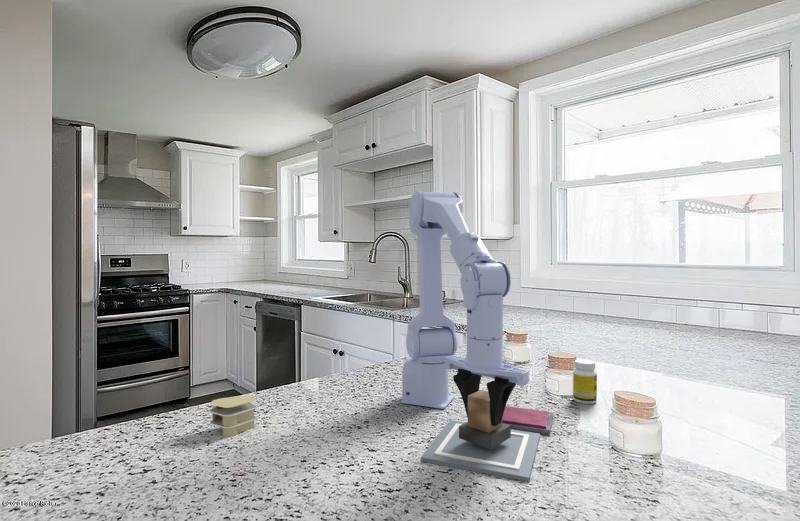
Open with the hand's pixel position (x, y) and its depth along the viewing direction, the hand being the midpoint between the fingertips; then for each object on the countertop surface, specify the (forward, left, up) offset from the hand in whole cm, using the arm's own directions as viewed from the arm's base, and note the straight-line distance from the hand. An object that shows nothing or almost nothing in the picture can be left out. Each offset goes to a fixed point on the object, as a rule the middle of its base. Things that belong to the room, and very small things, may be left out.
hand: (484, 420), depth 73 cm
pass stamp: (0, 0, -3) cm, 3 cm away
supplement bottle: (+15, +31, -5) cm, 35 cm away
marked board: (0, 0, -5) cm, 5 cm away
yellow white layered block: (-43, -10, -5) cm, 44 cm away
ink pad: (+4, +14, -5) cm, 15 cm away
